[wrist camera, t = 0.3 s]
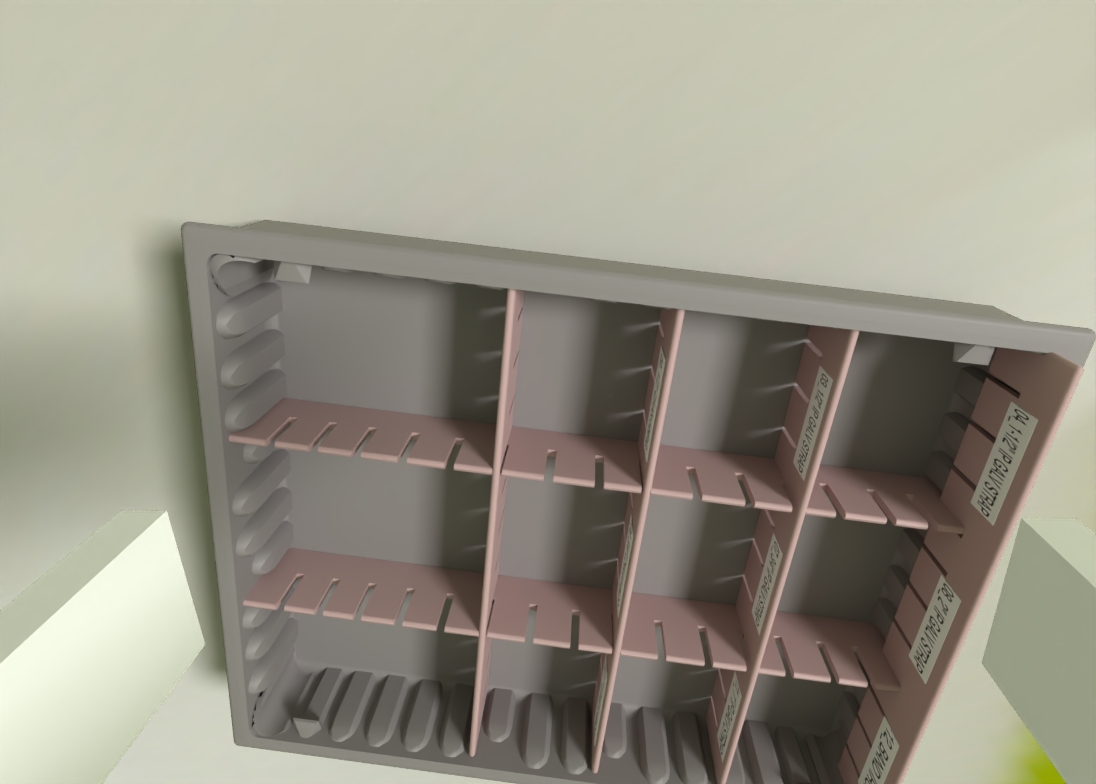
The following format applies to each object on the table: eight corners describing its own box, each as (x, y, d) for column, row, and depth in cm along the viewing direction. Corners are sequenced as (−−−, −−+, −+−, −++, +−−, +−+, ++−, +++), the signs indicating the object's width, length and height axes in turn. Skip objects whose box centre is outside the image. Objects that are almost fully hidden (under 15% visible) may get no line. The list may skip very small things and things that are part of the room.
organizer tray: (261, 200, 37) (149, 228, 27) (998, 287, 36) (1137, 346, 27) (287, 652, 49) (215, 775, 40) (836, 724, 48) (893, 868, 39)
